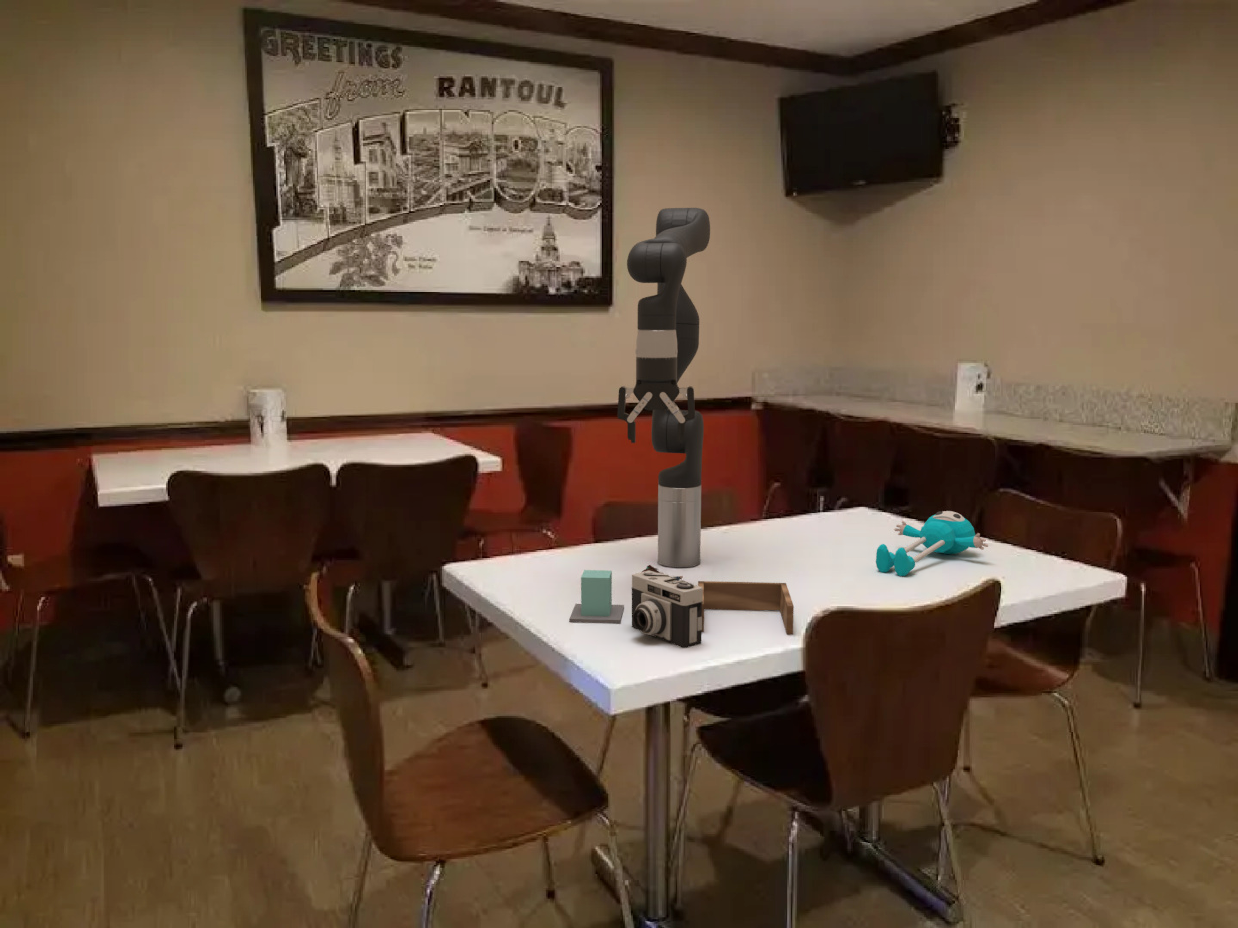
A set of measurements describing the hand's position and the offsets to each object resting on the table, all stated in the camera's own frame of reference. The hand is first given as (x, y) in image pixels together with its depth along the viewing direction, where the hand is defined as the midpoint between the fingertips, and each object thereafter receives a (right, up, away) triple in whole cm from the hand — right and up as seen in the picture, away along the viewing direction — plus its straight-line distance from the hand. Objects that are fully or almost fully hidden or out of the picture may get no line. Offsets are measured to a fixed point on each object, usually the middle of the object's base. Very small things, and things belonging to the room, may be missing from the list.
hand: (656, 442), depth 180 cm
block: (-11, -31, -6) cm, 33 cm away
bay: (+15, -32, -8) cm, 36 cm away
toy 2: (+60, -26, +32) cm, 72 cm away
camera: (0, -33, -17) cm, 37 cm away
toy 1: (+3, -29, +9) cm, 31 cm away
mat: (-11, -31, -5) cm, 33 cm away
